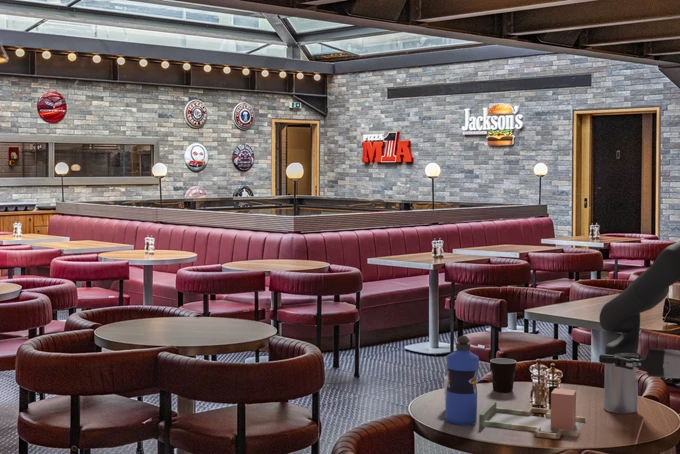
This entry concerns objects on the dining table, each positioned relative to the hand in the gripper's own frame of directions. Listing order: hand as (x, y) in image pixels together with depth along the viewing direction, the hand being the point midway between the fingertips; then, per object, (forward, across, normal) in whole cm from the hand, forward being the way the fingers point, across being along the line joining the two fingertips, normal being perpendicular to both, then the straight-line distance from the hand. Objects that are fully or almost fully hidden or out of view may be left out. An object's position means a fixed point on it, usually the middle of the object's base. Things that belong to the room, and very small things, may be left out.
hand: (599, 358), depth 244 cm
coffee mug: (+35, -39, +21) cm, 57 cm away
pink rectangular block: (+10, 0, +20) cm, 23 cm away
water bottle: (+39, +2, +21) cm, 44 cm away
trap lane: (+18, 0, +21) cm, 28 cm away
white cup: (+43, -9, +21) cm, 49 cm away
